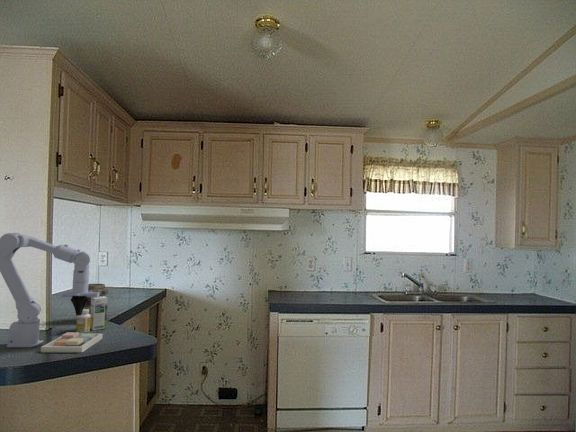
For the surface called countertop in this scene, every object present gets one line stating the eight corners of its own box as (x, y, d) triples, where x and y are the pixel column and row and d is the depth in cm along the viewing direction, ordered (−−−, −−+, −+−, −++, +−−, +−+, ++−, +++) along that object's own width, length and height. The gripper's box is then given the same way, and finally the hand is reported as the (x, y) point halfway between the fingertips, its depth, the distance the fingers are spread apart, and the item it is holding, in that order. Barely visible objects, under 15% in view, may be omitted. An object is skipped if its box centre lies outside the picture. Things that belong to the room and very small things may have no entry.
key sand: (65, 346, 141) (65, 341, 141) (71, 342, 146) (71, 338, 146) (77, 346, 142) (78, 341, 142) (83, 342, 146) (83, 338, 146)
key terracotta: (53, 347, 144) (54, 342, 144) (59, 343, 148) (60, 339, 148) (65, 347, 144) (66, 342, 144) (71, 343, 148) (71, 339, 148)
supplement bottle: (86, 329, 172) (87, 307, 173) (91, 331, 169) (93, 309, 169) (73, 331, 168) (75, 309, 168) (79, 334, 165) (80, 311, 165)
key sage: (79, 341, 152) (79, 336, 152) (84, 338, 157) (84, 333, 157) (90, 341, 153) (90, 336, 153) (95, 338, 157) (95, 333, 157)
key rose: (61, 339, 149) (61, 335, 149) (67, 336, 154) (67, 332, 154) (73, 339, 150) (73, 335, 150) (78, 336, 154) (78, 332, 154)
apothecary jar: (107, 317, 197) (109, 282, 198) (105, 322, 186) (107, 285, 187) (81, 318, 193) (83, 282, 194) (77, 323, 182) (79, 286, 183)
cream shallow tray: (40, 352, 139) (40, 346, 139) (66, 338, 158) (66, 333, 158) (81, 352, 140) (82, 347, 140) (102, 338, 159) (102, 333, 159)
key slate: (72, 345, 147) (72, 340, 147) (77, 341, 151) (78, 337, 151) (84, 345, 147) (84, 340, 147) (89, 341, 152) (89, 337, 152)
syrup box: (92, 330, 171) (94, 298, 171) (89, 327, 175) (91, 296, 176) (106, 328, 174) (108, 297, 175) (102, 326, 179) (104, 295, 179)
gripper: (57, 282, 151) (55, 316, 151) (94, 283, 152) (93, 317, 152) (66, 280, 158) (64, 313, 158) (102, 281, 159) (100, 313, 159)
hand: (78, 315), depth 155 cm, fingers closed
